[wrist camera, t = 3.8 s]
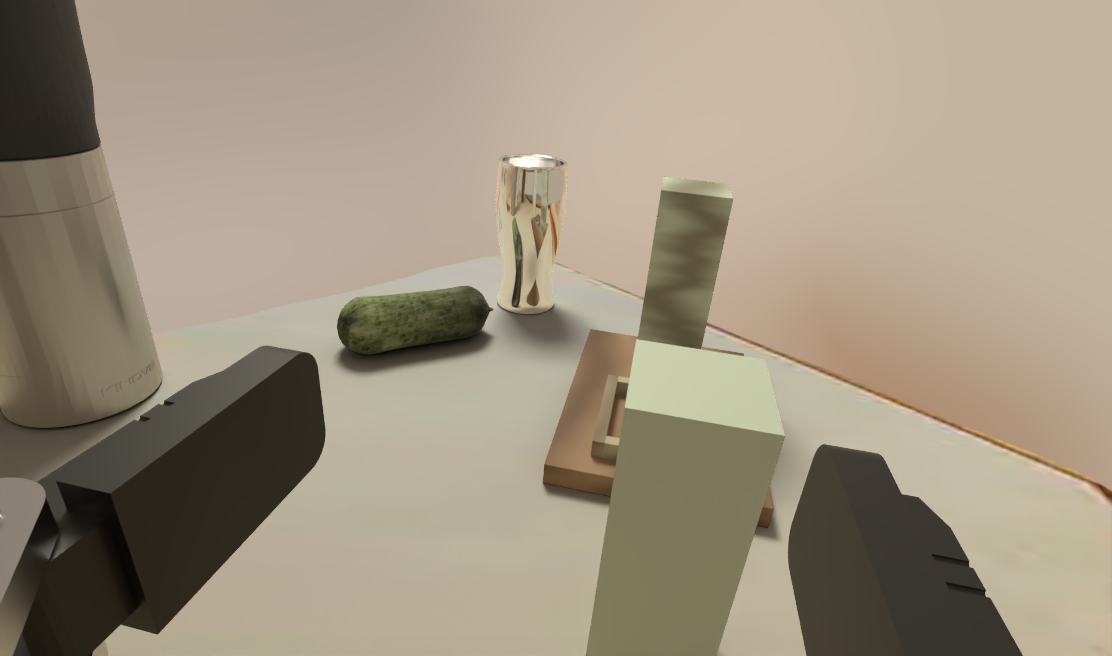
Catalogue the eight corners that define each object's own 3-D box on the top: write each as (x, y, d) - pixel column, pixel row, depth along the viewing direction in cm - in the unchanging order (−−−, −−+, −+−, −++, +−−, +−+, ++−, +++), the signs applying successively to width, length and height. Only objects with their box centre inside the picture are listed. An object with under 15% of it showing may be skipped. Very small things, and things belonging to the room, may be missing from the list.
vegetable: (346, 370, 47) (340, 316, 45) (335, 342, 51) (329, 291, 49) (501, 342, 54) (503, 293, 52) (481, 319, 58) (481, 273, 56)
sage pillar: (580, 691, 25) (624, 407, 19) (595, 596, 30) (636, 339, 23) (695, 720, 24) (785, 435, 18) (694, 618, 29) (765, 359, 22)
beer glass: (554, 319, 59) (566, 170, 52) (487, 312, 59) (490, 163, 52) (560, 293, 65) (571, 157, 58) (499, 287, 65) (503, 151, 59)
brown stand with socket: (542, 482, 37) (563, 234, 30) (589, 343, 55) (609, 166, 47) (767, 527, 35) (850, 273, 28) (739, 367, 53) (785, 187, 45)
